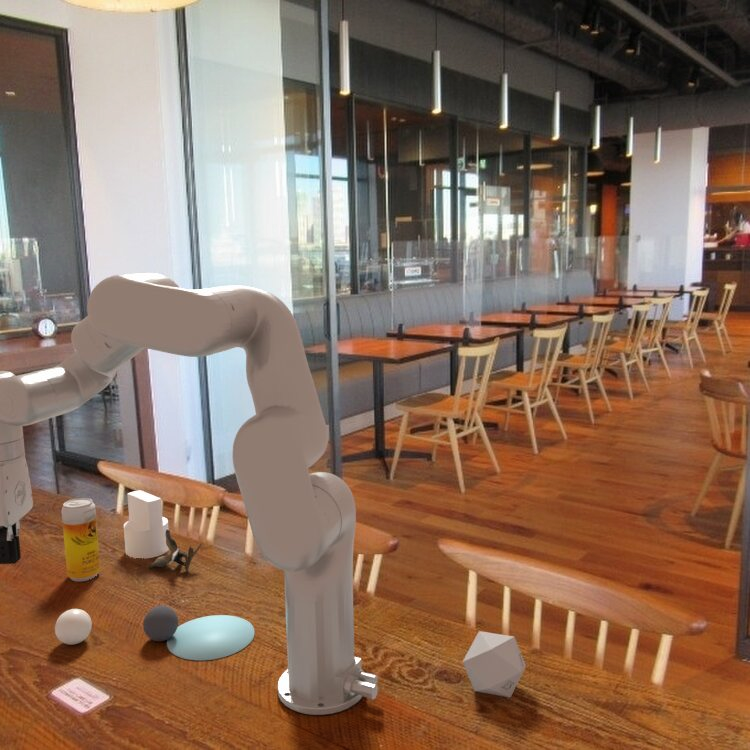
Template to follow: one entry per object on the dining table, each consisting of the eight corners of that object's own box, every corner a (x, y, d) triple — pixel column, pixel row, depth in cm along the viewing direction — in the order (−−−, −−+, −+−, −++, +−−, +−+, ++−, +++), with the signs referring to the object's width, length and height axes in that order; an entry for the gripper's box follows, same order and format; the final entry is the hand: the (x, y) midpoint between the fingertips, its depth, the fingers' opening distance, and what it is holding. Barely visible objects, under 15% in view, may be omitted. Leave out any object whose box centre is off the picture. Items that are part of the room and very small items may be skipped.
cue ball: (100, 638, 121) (97, 606, 120) (72, 654, 116) (69, 622, 115) (76, 630, 123) (74, 600, 122) (48, 646, 118) (45, 614, 117)
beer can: (89, 583, 141) (82, 508, 138) (60, 581, 142) (54, 507, 139) (106, 570, 147) (101, 498, 144) (79, 568, 148) (73, 496, 145)
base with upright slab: (178, 549, 157) (174, 495, 155) (139, 562, 150) (135, 506, 148) (155, 538, 163) (152, 486, 161) (117, 550, 156) (113, 496, 154)
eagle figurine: (207, 555, 150) (171, 539, 154) (197, 534, 145) (159, 518, 149) (183, 588, 145) (146, 571, 149) (172, 567, 140) (133, 551, 144)
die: (494, 719, 99) (536, 662, 99) (444, 675, 102) (484, 619, 102) (503, 706, 107) (543, 653, 106) (456, 665, 110) (494, 613, 110)
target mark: (271, 626, 123) (271, 625, 123) (217, 669, 111) (217, 667, 111) (206, 609, 130) (206, 608, 130) (148, 647, 117) (147, 646, 117)
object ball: (186, 634, 121) (184, 603, 120) (162, 651, 116) (160, 618, 115) (161, 627, 124) (159, 596, 123) (136, 643, 119) (134, 611, 118)
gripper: (0, 463, 107) (12, 581, 111) (41, 438, 122) (50, 542, 125) (-53, 465, 107) (-39, 583, 110) (-5, 439, 122) (6, 544, 125)
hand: (8, 561), depth 118 cm, fingers closed
